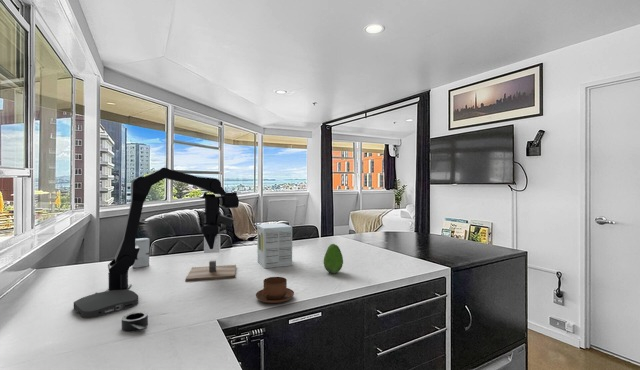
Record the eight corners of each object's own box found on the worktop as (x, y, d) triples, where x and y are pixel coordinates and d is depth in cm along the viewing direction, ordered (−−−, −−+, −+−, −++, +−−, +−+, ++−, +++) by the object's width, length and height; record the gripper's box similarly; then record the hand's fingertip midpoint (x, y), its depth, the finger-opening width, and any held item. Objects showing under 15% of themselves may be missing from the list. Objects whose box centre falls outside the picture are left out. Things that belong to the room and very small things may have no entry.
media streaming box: (124, 294, 105) (124, 285, 105) (142, 305, 96) (142, 295, 96) (70, 308, 94) (70, 298, 94) (84, 322, 84) (84, 311, 84)
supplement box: (256, 261, 147) (256, 224, 147) (283, 258, 152) (283, 222, 152) (264, 268, 135) (263, 228, 135) (293, 265, 140) (292, 226, 140)
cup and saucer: (287, 308, 93) (287, 287, 93) (249, 305, 95) (249, 284, 95) (298, 294, 105) (298, 275, 105) (264, 291, 107) (264, 273, 107)
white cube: (219, 252, 125) (219, 237, 125) (203, 253, 124) (203, 237, 124) (220, 249, 131) (220, 235, 131) (205, 250, 130) (205, 235, 130)
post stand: (235, 277, 122) (235, 265, 122) (185, 281, 118) (185, 268, 118) (235, 267, 138) (235, 255, 137) (192, 269, 133) (192, 258, 133)
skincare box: (134, 268, 136) (134, 240, 135) (131, 266, 139) (131, 239, 139) (150, 265, 140) (149, 238, 140) (147, 263, 143) (147, 237, 143)
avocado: (335, 277, 123) (335, 246, 123) (320, 273, 128) (319, 244, 128) (346, 272, 129) (346, 243, 129) (331, 269, 134) (331, 241, 134)
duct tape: (156, 317, 87) (156, 307, 87) (146, 334, 77) (146, 323, 77) (125, 320, 85) (125, 310, 85) (110, 338, 75) (110, 326, 75)
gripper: (232, 210, 120) (232, 251, 120) (233, 207, 138) (233, 242, 138) (201, 211, 118) (201, 252, 118) (206, 207, 136) (206, 243, 136)
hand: (212, 247), depth 127 cm, fingers closed on white cube, 6 cm apart
